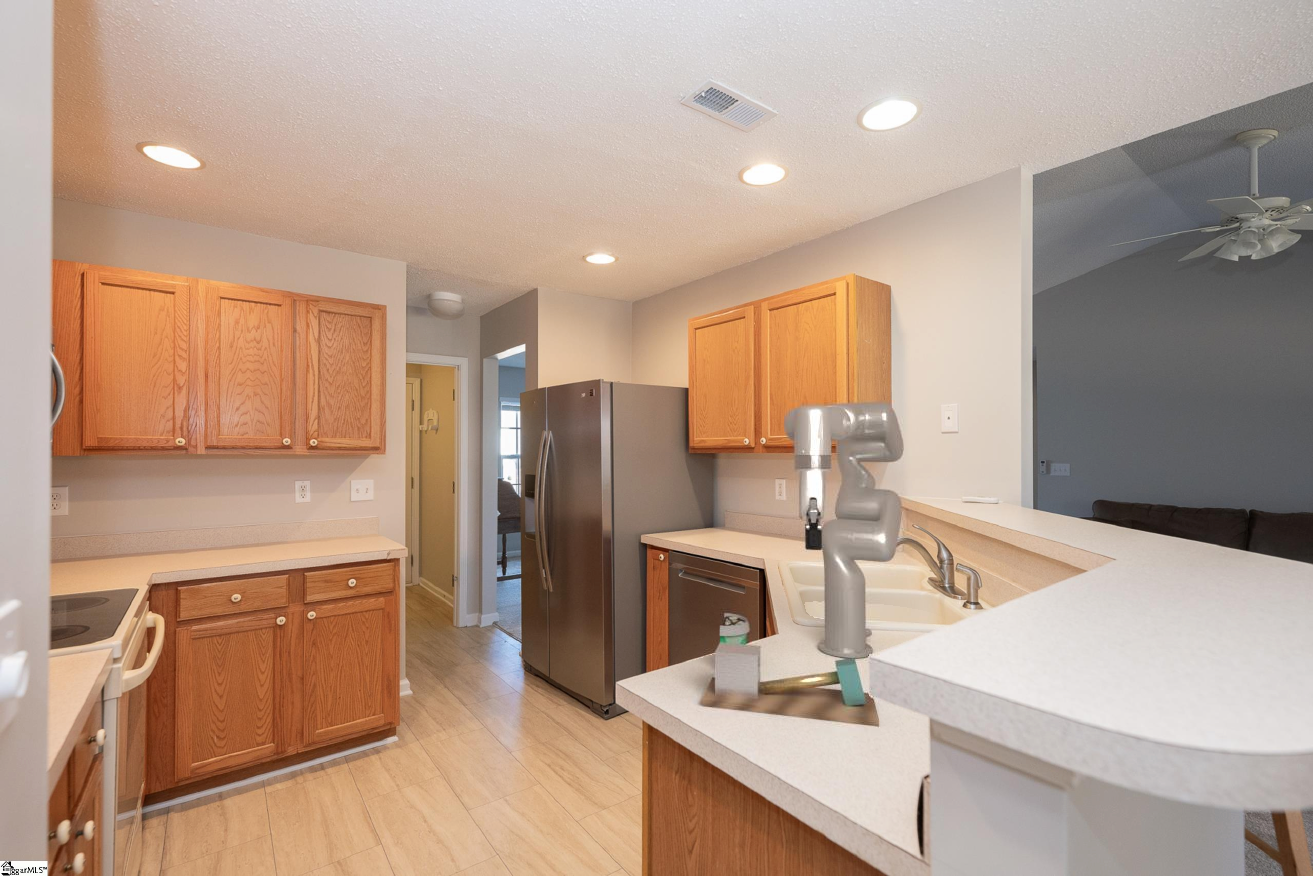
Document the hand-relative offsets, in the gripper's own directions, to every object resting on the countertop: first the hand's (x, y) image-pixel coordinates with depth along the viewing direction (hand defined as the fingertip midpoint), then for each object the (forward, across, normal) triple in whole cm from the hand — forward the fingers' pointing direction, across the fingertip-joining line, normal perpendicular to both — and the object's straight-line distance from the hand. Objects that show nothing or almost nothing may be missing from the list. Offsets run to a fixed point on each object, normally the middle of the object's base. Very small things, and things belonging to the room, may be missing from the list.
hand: (813, 546), depth 124 cm
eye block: (+27, +13, -14) cm, 33 cm away
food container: (+28, -6, -17) cm, 33 cm away
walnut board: (+28, +13, -5) cm, 31 cm away
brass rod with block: (+28, +13, 0) cm, 31 cm away
